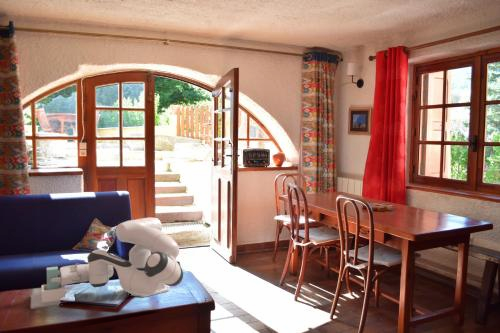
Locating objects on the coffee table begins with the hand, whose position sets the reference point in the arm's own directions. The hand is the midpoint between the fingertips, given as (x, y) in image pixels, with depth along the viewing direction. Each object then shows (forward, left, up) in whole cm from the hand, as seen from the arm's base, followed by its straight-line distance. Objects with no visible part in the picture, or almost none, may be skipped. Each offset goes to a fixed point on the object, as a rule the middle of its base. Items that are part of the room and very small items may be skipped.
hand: (50, 277), depth 211 cm
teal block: (-1, 0, -10) cm, 11 cm away
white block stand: (-1, 0, -11) cm, 12 cm away
